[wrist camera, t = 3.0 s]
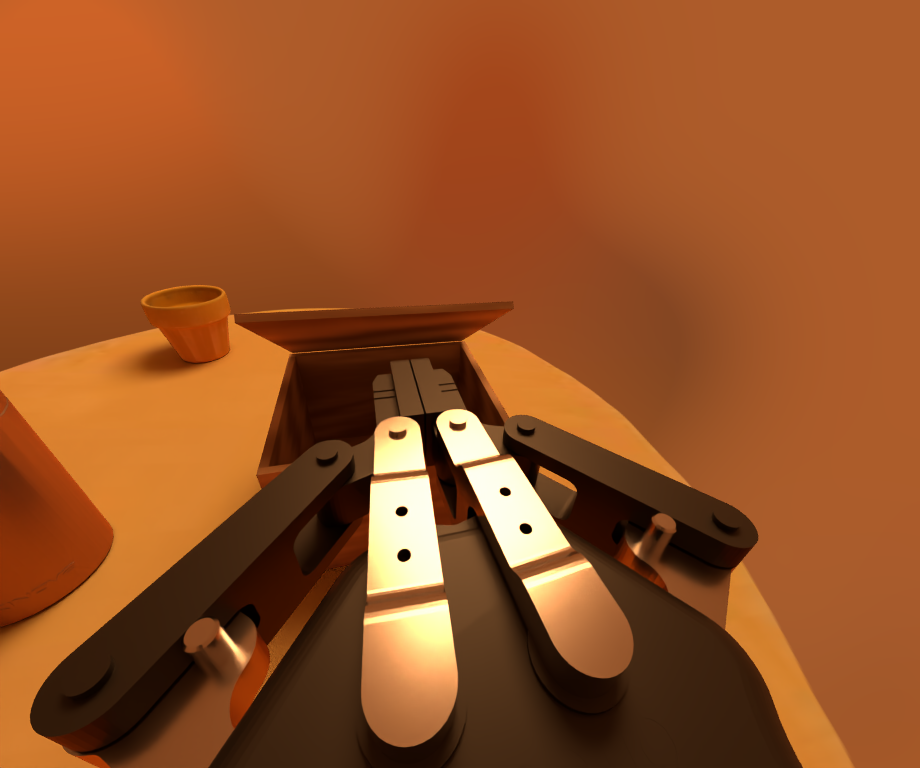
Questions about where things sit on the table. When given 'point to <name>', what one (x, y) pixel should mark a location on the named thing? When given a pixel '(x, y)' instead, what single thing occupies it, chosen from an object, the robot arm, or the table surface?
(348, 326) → the box flap
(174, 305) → the plant pot
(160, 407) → the table surface
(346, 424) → the open wooden box
